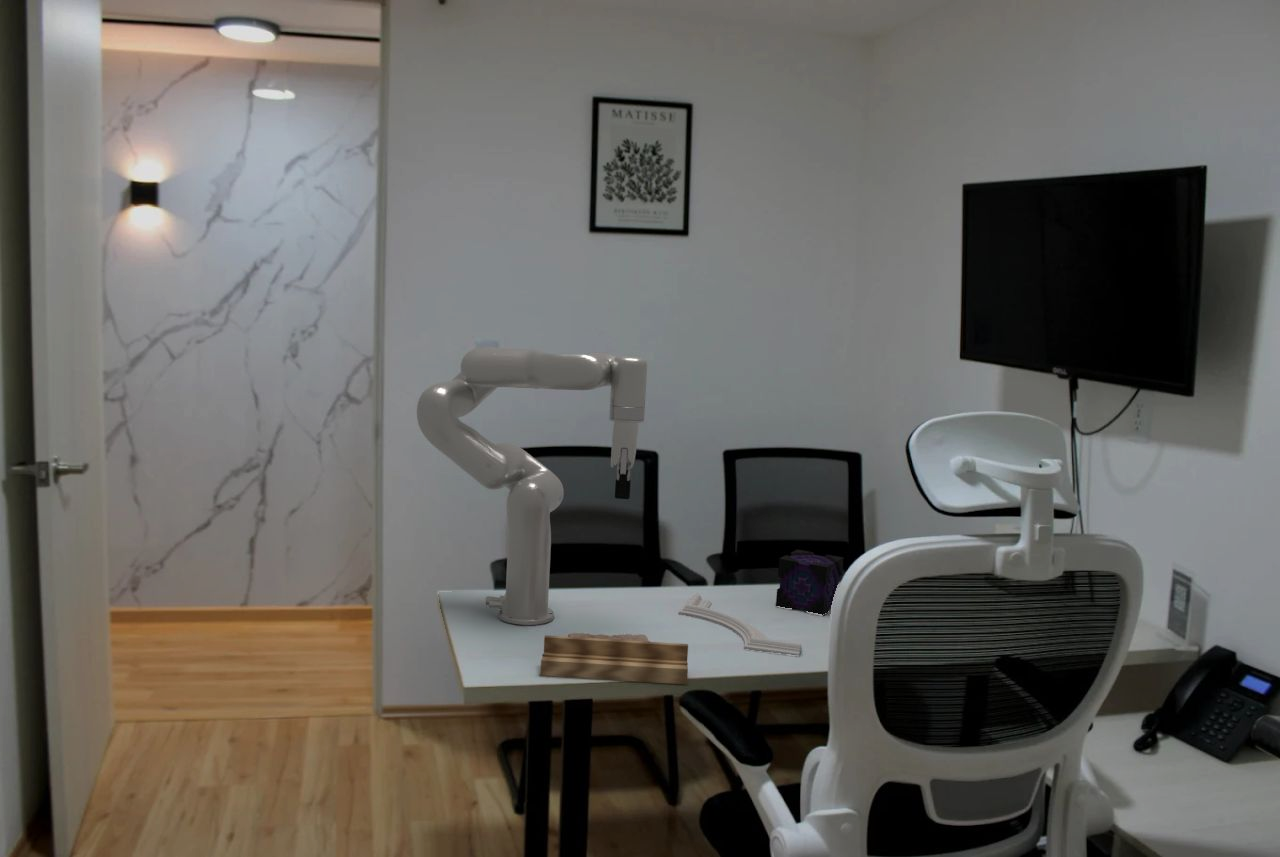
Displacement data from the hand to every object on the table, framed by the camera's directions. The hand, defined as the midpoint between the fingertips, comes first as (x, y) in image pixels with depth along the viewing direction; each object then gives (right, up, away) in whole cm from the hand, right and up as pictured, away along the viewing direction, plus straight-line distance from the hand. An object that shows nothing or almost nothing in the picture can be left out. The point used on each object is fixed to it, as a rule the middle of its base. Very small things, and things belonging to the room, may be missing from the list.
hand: (622, 498), depth 241 cm
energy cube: (+45, -28, +30) cm, 61 cm away
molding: (+26, -30, +10) cm, 41 cm away
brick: (-2, -32, -16) cm, 36 cm away
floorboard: (-1, -32, -23) cm, 40 cm away
